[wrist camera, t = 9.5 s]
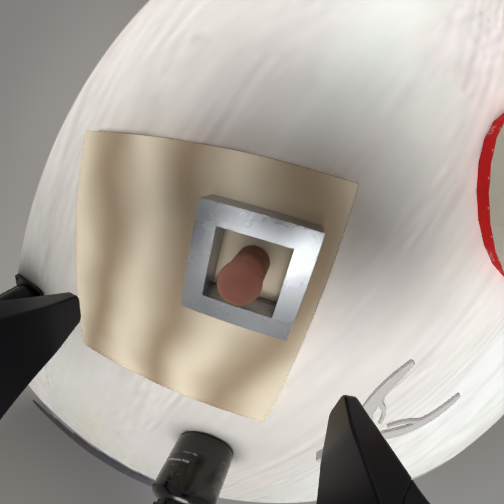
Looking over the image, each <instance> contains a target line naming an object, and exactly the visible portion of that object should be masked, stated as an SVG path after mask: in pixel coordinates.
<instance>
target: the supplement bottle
mask: <svg viewBox="0 0 504 504" xmlns="http://www.w3.org/2000/svg"><path fill="white" fill-rule="evenodd" d="M232 458H233V454H232V452H231V450H230V448H229V447H228V446H227V445H226V444H224V443H223V442H221V441H220V440H218V439H216V438H213V437H211V436H208V435H205V434H201V433H195V432H189V433H185V434H182V435H181V436H180V437H179V439H178V440H177V442H176V444H175V446H174V447H173V449H172V451H171V453H170V455H169V457H168V458H167V460H166V462H165V464H164V466H163V467H162V469H161V471H160V473H159V475H158V476H157V478H156V480H155V482H154V484H153V486H152V489H153V493H154V494H155V496H156V497H157V499H158V501H157V502H154V503H153V504H216V502H217V499H218V497H219V494H220V491H221V489H222V486H223V484H224V481H225V478H226V475H227V473H228V470H229V467H230V464H231V461H232Z"/></svg>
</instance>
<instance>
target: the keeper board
mask: <svg viewBox="0 0 504 504" xmlns="http://www.w3.org/2000/svg"><path fill="white" fill-rule="evenodd" d="M357 188H358V184H356V183H353V182H350V181H347V180H344V179H341V178H338V177H335V176H332V175H328V174H325V173H322V172H318V171H315V170H312V169H308V168H305V167H301V166H297V165H294V164H290V163H286V162H282V161H278V160H275V159H271V158H266V157H262V156H258V155H254V154H249V153H245V152H240V151H236V150H231V149H226V148H221V147H216V146H210V145H205V144H199V143H193V142H187V141H181V140H174V139H168V138H160V137H153V136H144V135H135V134H125V133H114V132H101V131H86V135H85V141H84V147H83V153H82V160H81V167H80V175H79V184H78V195H77V210H76V277H77V292H78V298H79V301H80V311H81V319H80V321H81V328H82V335H83V341H84V344H85V345H86V346H88V347H90V348H91V349H93V350H95V351H96V352H98V353H100V354H101V355H103V356H105V357H107V358H108V359H110V360H112V361H114V362H116V363H117V364H119V365H121V366H123V367H125V368H127V369H129V370H131V371H133V372H135V373H137V374H139V375H141V376H143V377H145V378H147V379H149V380H151V381H153V382H155V383H157V384H160V385H162V386H164V387H166V388H169V389H171V390H173V391H175V392H178V393H180V394H183V395H185V396H188V397H190V398H193V399H195V400H198V401H200V402H203V403H206V404H209V405H211V406H214V407H217V408H220V409H223V410H226V411H229V412H232V413H235V414H238V415H242V416H245V417H248V418H252V419H255V420H259V421H263V422H265V420H266V418H267V416H268V414H269V412H270V410H271V409H272V407H273V405H274V403H275V401H276V399H277V397H278V395H279V392H280V390H281V388H282V386H283V384H284V382H285V380H286V378H287V376H288V374H289V371H290V369H291V367H292V365H293V363H294V361H295V358H296V356H297V354H298V352H299V349H300V347H301V345H302V342H303V340H304V338H305V335H306V333H307V331H308V328H309V326H310V323H311V321H312V319H313V316H314V314H315V311H316V309H317V306H318V304H319V301H320V298H321V296H322V293H323V291H324V288H325V285H326V283H327V280H328V277H329V274H330V272H331V269H332V266H333V263H334V260H335V258H336V255H337V252H338V249H339V246H340V243H341V240H342V237H343V234H344V231H345V228H346V224H347V221H348V218H349V215H350V212H351V208H352V205H353V202H354V198H355V195H356V191H357ZM211 194H214V195H218V196H222V197H226V198H229V199H233V200H237V201H240V202H244V203H248V204H251V205H255V206H258V207H262V208H265V209H269V210H272V211H276V212H279V213H283V214H286V215H289V216H293V217H296V218H299V219H303V220H306V221H309V222H313V223H316V224H319V225H322V226H323V228H324V231H325V236H324V239H323V242H322V245H321V248H320V251H319V254H318V257H317V260H316V262H315V265H314V268H313V271H312V274H311V277H310V280H309V282H308V285H307V288H306V291H305V293H304V296H303V299H302V301H301V304H300V307H299V309H298V312H297V315H296V317H295V320H294V322H293V325H292V328H291V330H290V333H289V335H288V338H287V340H286V341H284V340H281V339H277V338H274V337H271V336H268V335H264V334H261V333H258V332H255V331H252V330H249V329H246V328H242V327H239V326H236V325H233V324H231V323H228V322H225V321H222V320H219V319H216V318H213V317H210V316H208V315H205V314H202V313H199V312H197V311H194V310H191V309H189V308H186V307H183V306H181V300H182V293H183V286H184V279H185V273H186V267H187V261H188V255H189V249H190V243H191V238H192V232H193V227H194V222H195V216H196V211H197V206H198V201H199V197H203V196H207V195H211ZM292 252H293V249H292V248H288V247H285V246H282V245H279V244H275V243H272V242H269V241H265V240H262V239H259V238H255V237H252V236H249V235H245V234H242V233H238V232H235V231H232V230H228V229H225V232H224V236H223V241H222V245H221V250H220V254H219V259H218V263H217V268H216V273H215V277H214V282H216V283H217V288H218V291H219V293H220V295H221V296H222V298H223V299H224V300H225V301H227V302H228V303H230V304H233V305H237V306H242V305H247V304H249V303H251V302H253V301H254V300H255V299H256V298H257V297H258V296H259V297H262V298H265V299H268V300H272V301H275V302H277V299H278V295H279V292H280V289H281V286H282V283H283V280H284V277H285V274H286V271H287V268H288V265H289V261H290V258H291V255H292Z"/></svg>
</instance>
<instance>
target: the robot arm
mask: <svg viewBox="0 0 504 504" xmlns="http://www.w3.org/2000/svg"><path fill="white" fill-rule="evenodd" d="M15 278H16V284H17V286H15V287H13V288H12V289H10V290H8V291H6V292H4V293H2V294H0V420H1V418H2V417H3V415H4V414H5V413H6V412H7V410H8V409H9V408H10V406H11V405H12V404H13V402H14V401H15V400H16V399H17V398H18V396H19V395H20V394H21V393H22V391H23V390H24V389H25V388H26V387H27V385H28V384H29V383H30V382H31V381H32V379H33V378H34V377H35V376H36V375H37V374H38V372H39V371H40V370H41V369H42V368H43V367H44V366H45V364H46V363H47V362H48V361H49V360H50V359H51V358H52V357H53V355H54V354H55V353H56V352H57V351H58V350H59V348H60V347H61V346H62V344H63V343H64V342H65V340H66V339H67V338H68V336H69V335H70V334H71V332H72V331H73V330H74V328H75V327H76V326H77V325H78V323H79V322H80V319H81V311H80V301H79V298H78V297H77V296H76V295H74V294H72V293H70V292H67V293H60V294H53V295H45V296H43V293H42V291H41V290H40V289H38V288H37V287H36V286H34V285H33V284H31V283H30V282H29V281H27V280H26V279H25V278H23V277H22V276H21V275H19V274H17V275H16V276H15ZM317 504H430V503H429V502H428V500H427V499H426V498H425V496H424V495H423V494H422V492H421V491H420V489H419V488H418V487H417V485H416V484H415V482H414V481H413V480H411V476H410V475H409V474H408V472H407V471H406V469H405V468H404V466H403V465H402V463H401V462H400V460H399V459H398V457H397V456H396V454H395V453H394V452H393V450H392V449H391V447H390V446H389V444H388V443H387V441H386V440H385V438H384V437H383V435H382V434H381V432H380V431H379V430H378V428H377V427H376V425H375V424H374V422H373V421H372V419H371V418H370V416H369V415H368V413H367V412H366V411H365V409H364V408H363V406H362V405H361V403H360V402H359V400H358V399H357V398H356V397H354V396H348V395H343V396H342V397H341V398H340V399H339V401H338V402H337V404H336V405H335V407H334V408H333V409H332V411H331V413H330V416H329V420H328V426H327V432H326V437H325V442H324V447H323V452H322V458H321V466H320V477H319V487H318V496H317Z"/></svg>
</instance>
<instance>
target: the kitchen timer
mask: <svg viewBox="0 0 504 504" xmlns="http://www.w3.org/2000/svg"><path fill="white" fill-rule="evenodd" d="M477 203H478V220H479V224H480V228H481V233H482V238H483V243H484V246H485V248H486V250H487V252H488V255H489V257H490V259H491V262H492V264H493V265H494V266H495V267H496V268H497V269H498V270H499V272H500V273H501V274H502V275H503V276H504V114H502V115H501V116H500V117H499V118H498V119H496V120H495V121H494V122H493V124H492V126H491V128H490V130H489V132H488V133H487V135H486V137H485V139H484V143H483V148H482V152H481V156H480V160H479V165H478V181H477Z"/></svg>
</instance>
